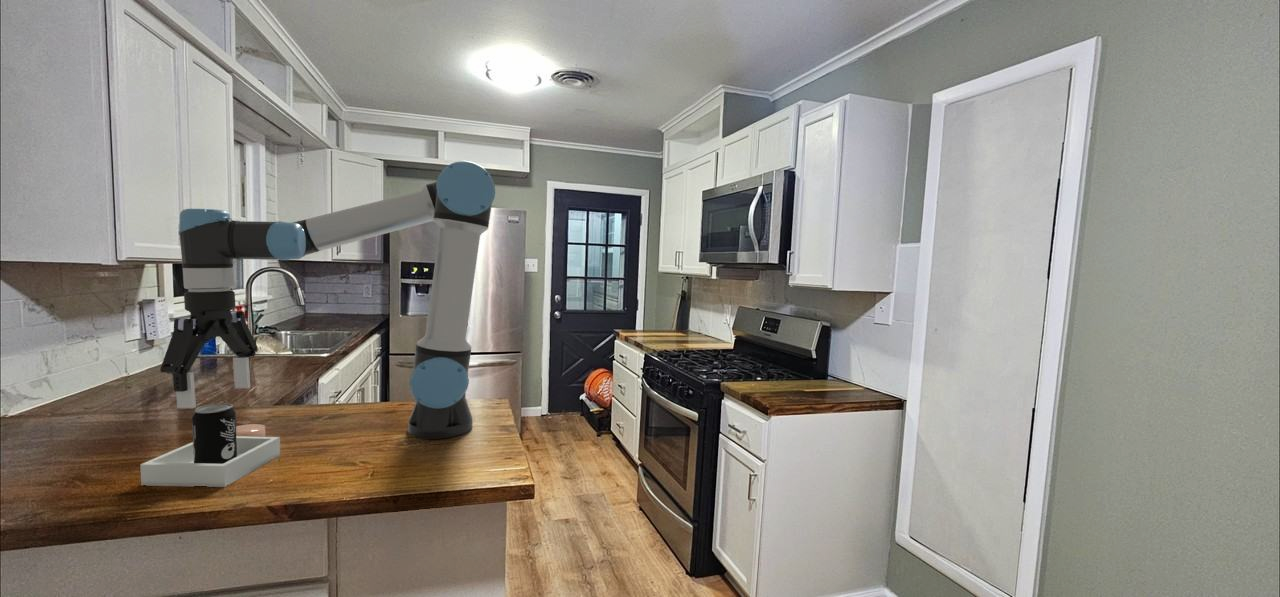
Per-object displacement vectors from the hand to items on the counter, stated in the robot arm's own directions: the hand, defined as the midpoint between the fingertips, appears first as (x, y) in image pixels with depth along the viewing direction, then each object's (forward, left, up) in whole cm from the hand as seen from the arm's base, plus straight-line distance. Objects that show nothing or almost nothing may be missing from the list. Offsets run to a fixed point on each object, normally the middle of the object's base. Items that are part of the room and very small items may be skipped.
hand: (216, 397), depth 99 cm
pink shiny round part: (+5, -14, -15) cm, 21 cm away
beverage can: (0, 0, -14) cm, 14 cm away
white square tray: (0, 0, -15) cm, 15 cm away
